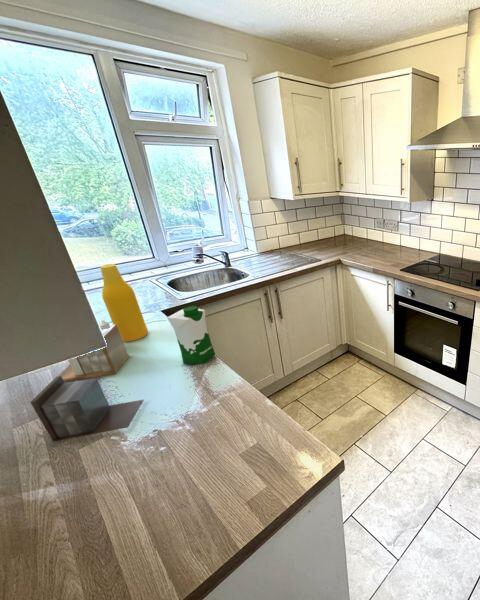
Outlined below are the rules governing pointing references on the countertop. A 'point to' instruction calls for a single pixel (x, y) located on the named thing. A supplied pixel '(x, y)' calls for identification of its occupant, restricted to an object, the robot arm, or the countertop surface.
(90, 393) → the grey book rack
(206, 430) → the countertop surface
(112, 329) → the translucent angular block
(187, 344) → the milk carton
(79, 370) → the white book
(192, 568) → the countertop surface
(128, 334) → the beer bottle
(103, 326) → the eye dropper bottle
